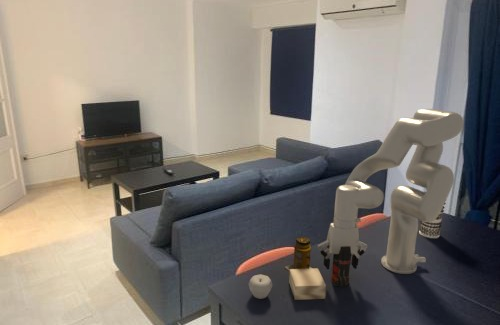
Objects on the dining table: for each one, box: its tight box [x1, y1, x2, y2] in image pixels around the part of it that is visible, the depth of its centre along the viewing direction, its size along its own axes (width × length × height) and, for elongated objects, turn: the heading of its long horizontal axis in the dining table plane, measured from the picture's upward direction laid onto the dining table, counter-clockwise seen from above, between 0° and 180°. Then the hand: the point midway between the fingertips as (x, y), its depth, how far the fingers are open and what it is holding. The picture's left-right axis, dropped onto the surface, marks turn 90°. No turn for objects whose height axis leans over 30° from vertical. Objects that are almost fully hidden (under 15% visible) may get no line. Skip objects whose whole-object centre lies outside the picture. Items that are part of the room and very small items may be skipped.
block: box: [288, 267, 327, 301], centre depth 120 cm, size 10×10×5 cm
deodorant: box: [331, 247, 352, 288], centre depth 123 cm, size 6×6×15 cm
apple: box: [248, 273, 273, 300], centre depth 116 cm, size 8×8×7 cm
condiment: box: [284, 236, 312, 272], centre depth 131 cm, size 7×8×12 cm
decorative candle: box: [418, 188, 446, 239], centre depth 159 cm, size 9×9×25 cm
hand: (340, 267), depth 124 cm, fingers open, 9 cm apart
